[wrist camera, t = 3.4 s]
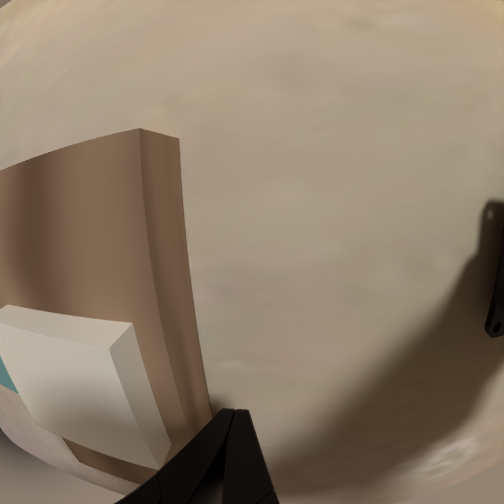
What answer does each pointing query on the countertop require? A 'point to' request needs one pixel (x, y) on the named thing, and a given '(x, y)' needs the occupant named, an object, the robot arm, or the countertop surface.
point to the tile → (84, 382)
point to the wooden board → (111, 264)
